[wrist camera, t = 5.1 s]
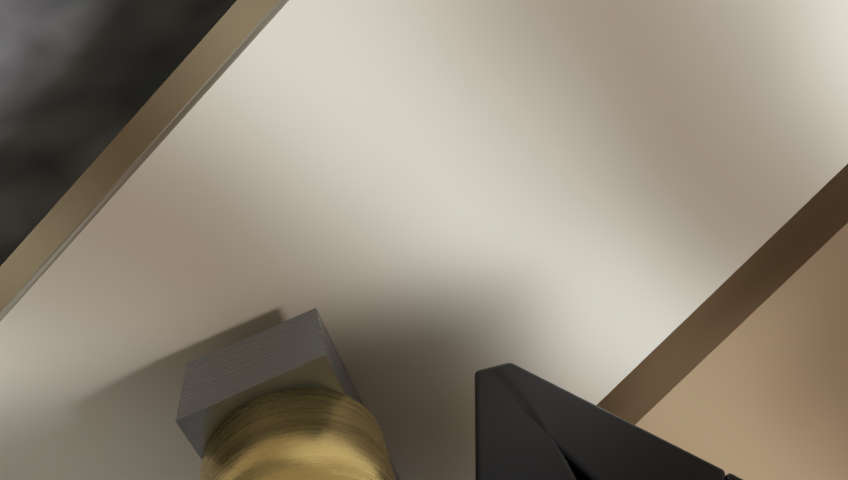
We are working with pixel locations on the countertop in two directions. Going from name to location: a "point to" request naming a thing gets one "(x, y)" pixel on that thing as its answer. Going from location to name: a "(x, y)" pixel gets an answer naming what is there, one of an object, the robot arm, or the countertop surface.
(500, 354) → the door and jamb
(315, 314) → the latch bar
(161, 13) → the countertop surface
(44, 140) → the countertop surface
